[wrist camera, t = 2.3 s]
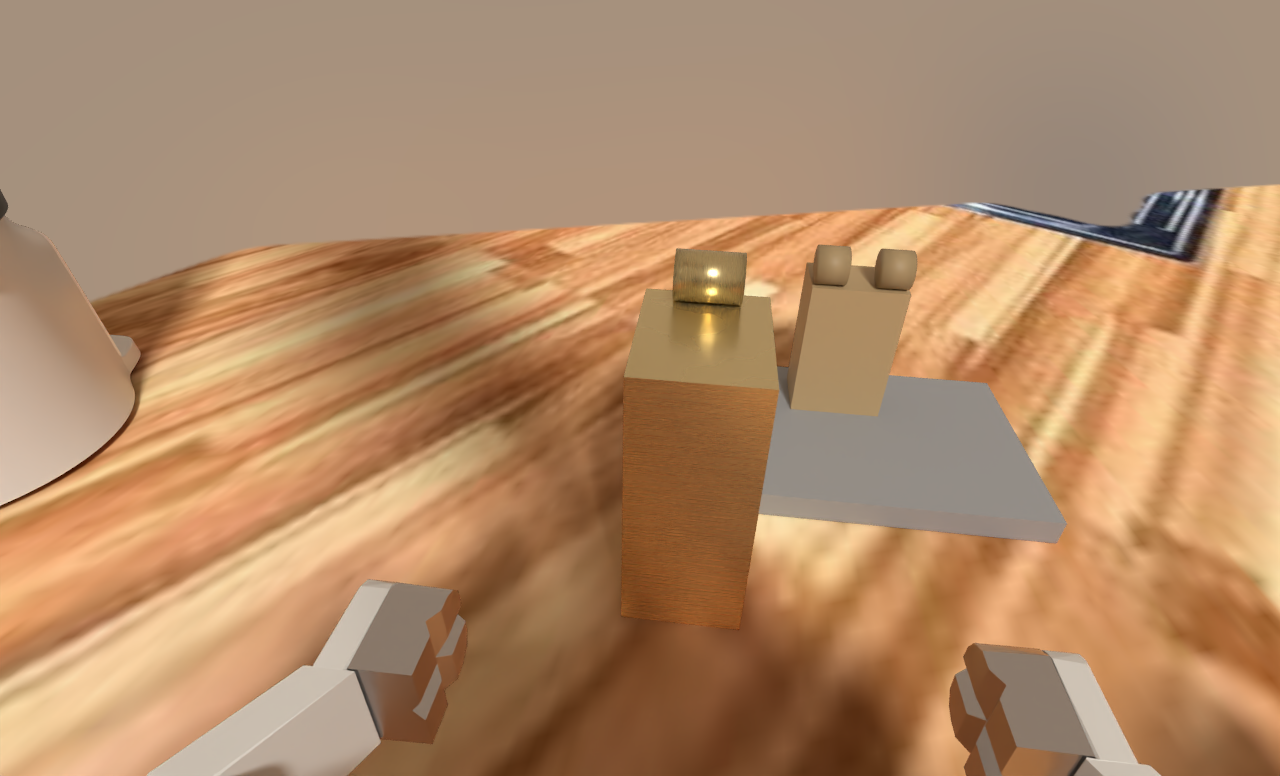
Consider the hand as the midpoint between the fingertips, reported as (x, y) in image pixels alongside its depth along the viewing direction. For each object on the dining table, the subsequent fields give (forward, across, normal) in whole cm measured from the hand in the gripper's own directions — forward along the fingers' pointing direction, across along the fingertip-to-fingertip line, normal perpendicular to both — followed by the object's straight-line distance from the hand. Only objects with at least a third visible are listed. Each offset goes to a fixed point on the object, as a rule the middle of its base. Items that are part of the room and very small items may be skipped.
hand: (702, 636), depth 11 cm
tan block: (+12, 0, +12) cm, 17 cm away
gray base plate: (+21, -7, +12) cm, 25 cm away
